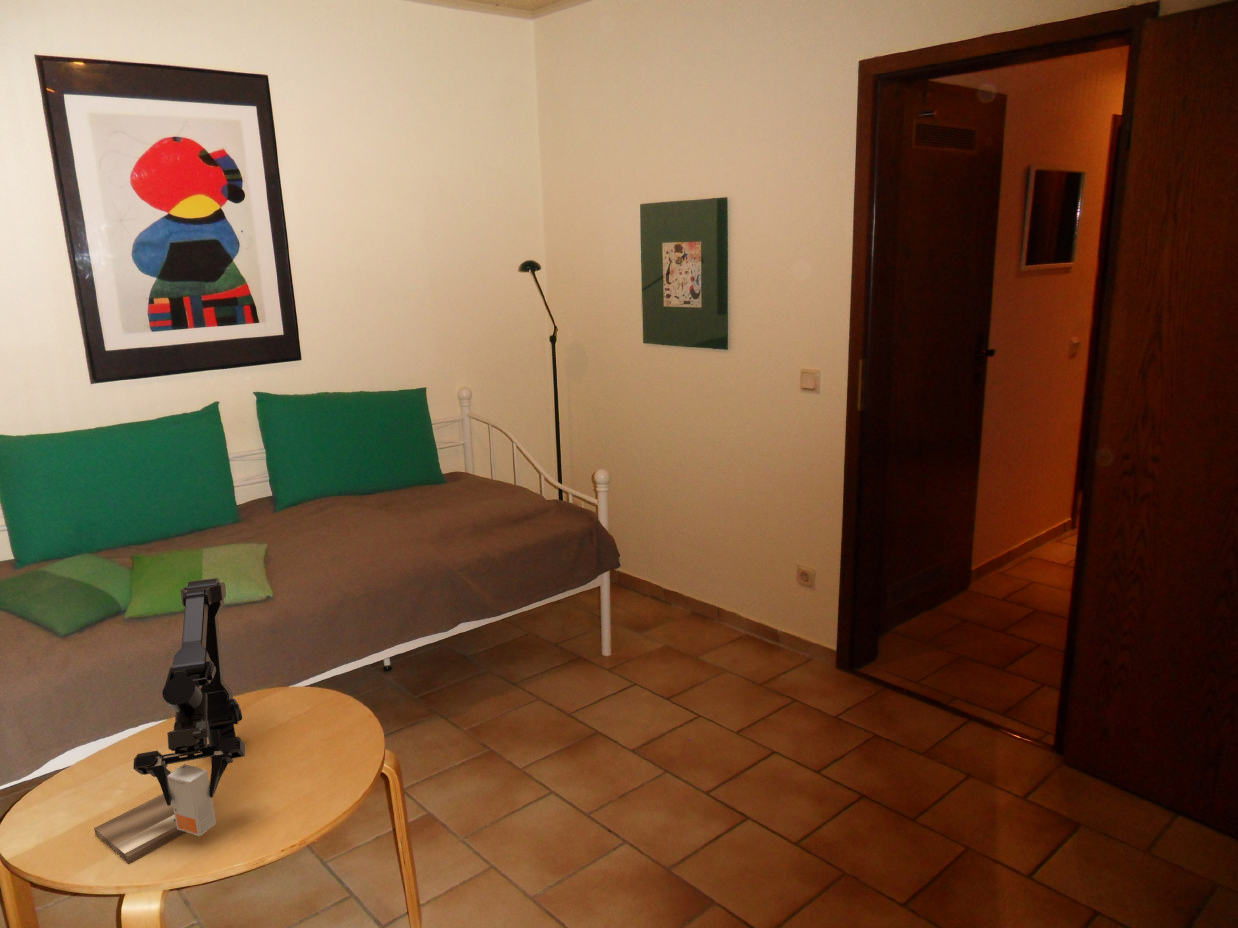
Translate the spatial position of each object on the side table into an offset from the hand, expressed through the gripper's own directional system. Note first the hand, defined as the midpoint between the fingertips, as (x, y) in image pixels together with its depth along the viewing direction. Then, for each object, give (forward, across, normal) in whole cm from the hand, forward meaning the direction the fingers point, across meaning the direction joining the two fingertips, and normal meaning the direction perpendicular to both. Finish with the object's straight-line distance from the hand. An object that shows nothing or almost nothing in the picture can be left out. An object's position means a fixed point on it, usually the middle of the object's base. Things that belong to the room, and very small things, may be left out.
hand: (190, 801), depth 162 cm
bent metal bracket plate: (+1, -9, +12) cm, 15 cm away
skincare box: (+4, 0, +6) cm, 7 cm away
